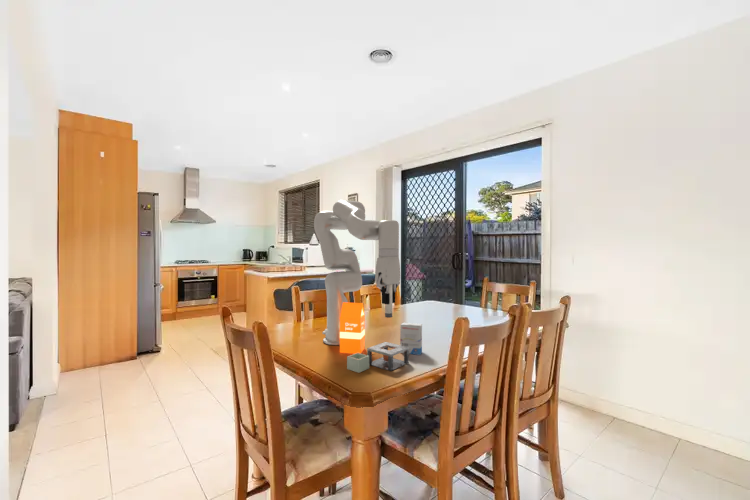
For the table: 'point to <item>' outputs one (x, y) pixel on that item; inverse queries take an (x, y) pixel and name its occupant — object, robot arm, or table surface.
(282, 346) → the table surface
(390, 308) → the grey rod
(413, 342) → the ink box
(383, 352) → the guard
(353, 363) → the box
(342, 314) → the orange juice
